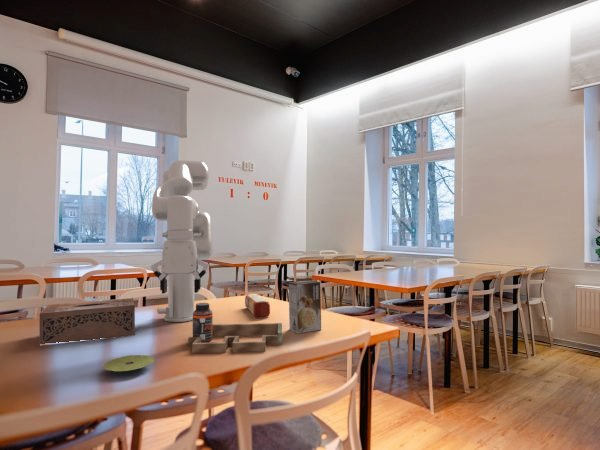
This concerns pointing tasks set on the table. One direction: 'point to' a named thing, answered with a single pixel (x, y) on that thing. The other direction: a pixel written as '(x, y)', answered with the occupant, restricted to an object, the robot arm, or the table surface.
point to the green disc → (128, 363)
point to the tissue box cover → (87, 320)
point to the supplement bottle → (202, 322)
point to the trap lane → (232, 333)
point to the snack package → (257, 306)
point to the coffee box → (304, 306)
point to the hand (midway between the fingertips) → (180, 292)
